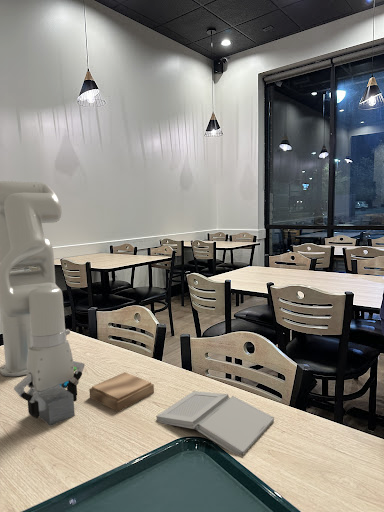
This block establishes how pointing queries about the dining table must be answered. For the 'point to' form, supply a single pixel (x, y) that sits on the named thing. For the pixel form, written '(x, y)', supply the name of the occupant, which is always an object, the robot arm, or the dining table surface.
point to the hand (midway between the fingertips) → (54, 407)
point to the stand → (121, 391)
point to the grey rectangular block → (55, 405)
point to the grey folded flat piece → (219, 419)
